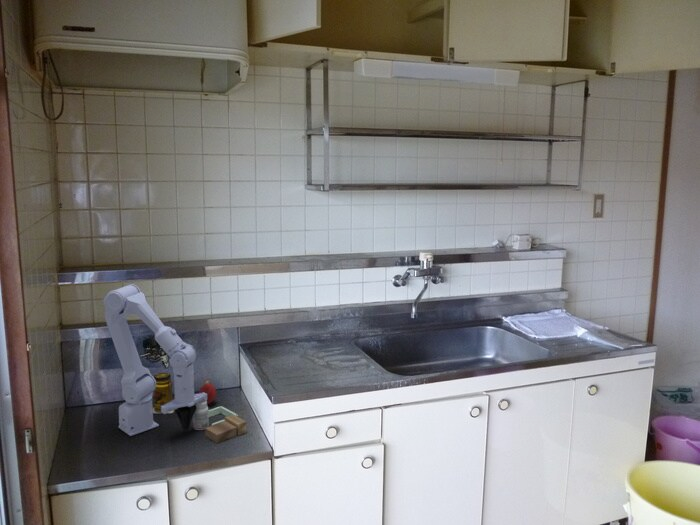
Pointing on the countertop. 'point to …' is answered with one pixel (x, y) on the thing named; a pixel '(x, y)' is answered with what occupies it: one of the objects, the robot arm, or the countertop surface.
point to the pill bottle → (201, 416)
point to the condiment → (162, 391)
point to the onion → (208, 391)
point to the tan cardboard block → (221, 431)
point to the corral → (220, 410)
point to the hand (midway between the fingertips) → (185, 428)
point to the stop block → (237, 423)
